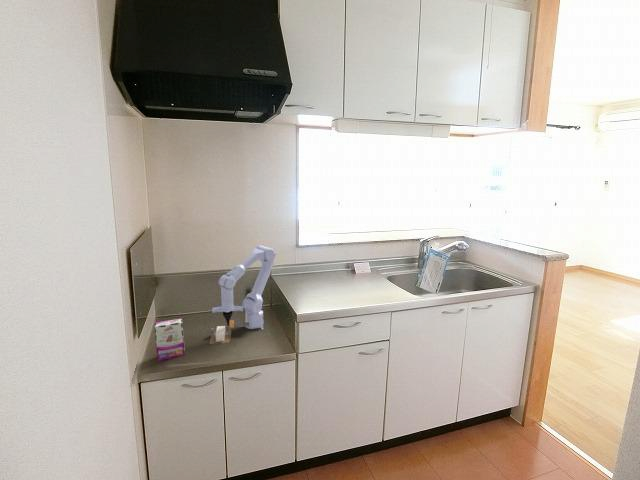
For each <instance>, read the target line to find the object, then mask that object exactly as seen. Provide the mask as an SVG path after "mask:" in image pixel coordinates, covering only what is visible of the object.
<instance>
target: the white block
mask: <svg viewBox="0 0 640 480" xmlns="http://www.w3.org/2000/svg"><path fill="white" fill-rule="evenodd" d="M215 332H216V342H220V341H225V334H226V332H227V331H226V325H219V326H218V325H217V326H216V330H215Z"/></svg>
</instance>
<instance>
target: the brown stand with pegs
mask: <svg viewBox="0 0 640 480" xmlns="http://www.w3.org/2000/svg"><path fill="white" fill-rule="evenodd" d="M231 330H232V329H231V328H230V326H227V331H225V332H226V334H225V341H220V342H216V331H215V327H211V328H210V340H209V345H212V344H213V345H214V344H227V343H231V341H232V339H231V338H232V331H231Z"/></svg>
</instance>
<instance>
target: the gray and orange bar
mask: <svg viewBox="0 0 640 480" xmlns="http://www.w3.org/2000/svg"><path fill="white" fill-rule="evenodd" d="M247 326H249V322H247V323H245V322H236V323H235V320H234V319H230V321H229V327H230V328H243V327H245V328H246V327H247Z"/></svg>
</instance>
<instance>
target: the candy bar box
mask: <svg viewBox="0 0 640 480" xmlns="http://www.w3.org/2000/svg"><path fill="white" fill-rule="evenodd" d="M182 318H183V317H182ZM182 318H177V319H176V318H175V319H169V320H164V321H157V322H154V335H155V345H156V346H155V347H156V355H157V356H156V358H157V361H158V362H161V361H166V360H171V359H172V358H174V357H175V358H176V357H179V356H180V357H181V356H185V355H186V352H185V351H186V350H185V348H186V347H185V340H184V339H185V338H184V328H183V319H182Z"/></svg>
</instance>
